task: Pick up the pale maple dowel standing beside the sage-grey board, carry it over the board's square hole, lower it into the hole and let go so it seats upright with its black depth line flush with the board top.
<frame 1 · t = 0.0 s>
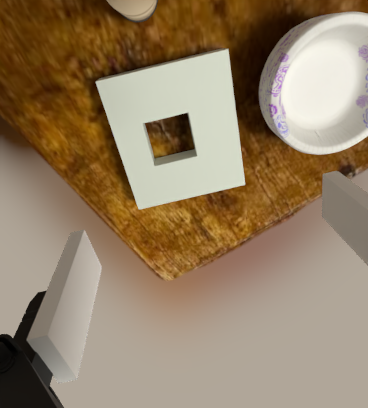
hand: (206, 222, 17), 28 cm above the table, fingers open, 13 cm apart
socket board: (176, 132, 42), on the table
paper bowls: (305, 82, 41), on the table
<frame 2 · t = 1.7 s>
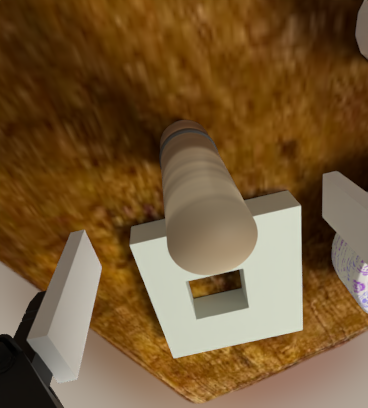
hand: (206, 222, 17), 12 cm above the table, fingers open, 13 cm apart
maple dowel: (184, 145, 27), on the table
socket board: (222, 273, 35), on the table
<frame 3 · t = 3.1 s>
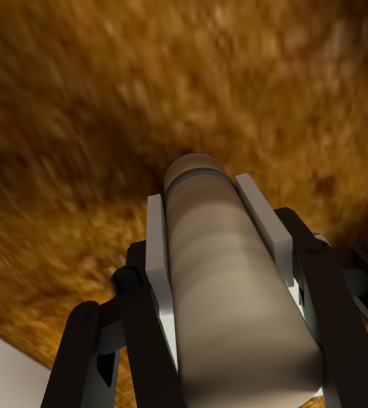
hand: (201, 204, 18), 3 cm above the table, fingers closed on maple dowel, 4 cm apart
maple dowel: (195, 182, 21), on the table, touching gripper
socket board: (237, 327, 29), on the table
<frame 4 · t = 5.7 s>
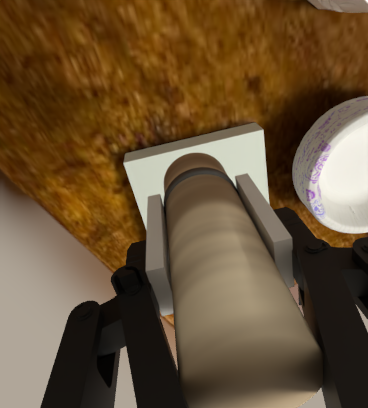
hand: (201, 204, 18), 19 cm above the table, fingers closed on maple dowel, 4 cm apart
maple dowel: (195, 182, 21), point 16 cm above the table, touching gripper
socket board: (203, 201, 41), on the table
paper bowls: (338, 151, 39), on the table
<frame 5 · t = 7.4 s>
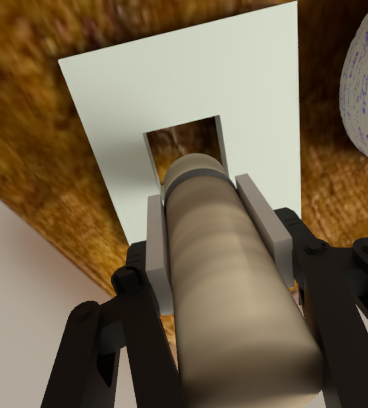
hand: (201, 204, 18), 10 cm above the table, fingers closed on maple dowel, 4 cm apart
maple dowel: (195, 183, 21), point 7 cm above the table, touching gripper
socket board: (196, 145, 27), on the table
when the fingers open (5 cm above the table, at t = 8.5 s): maple dowel drops 2 cm, resting in socket board.
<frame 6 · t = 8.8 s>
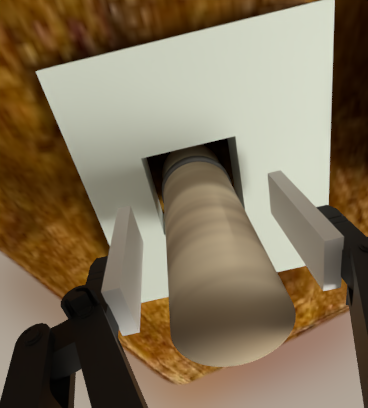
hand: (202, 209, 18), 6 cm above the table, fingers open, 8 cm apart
maple dowel: (191, 171, 23), resting in socket board
socket board: (204, 168, 23), on the table
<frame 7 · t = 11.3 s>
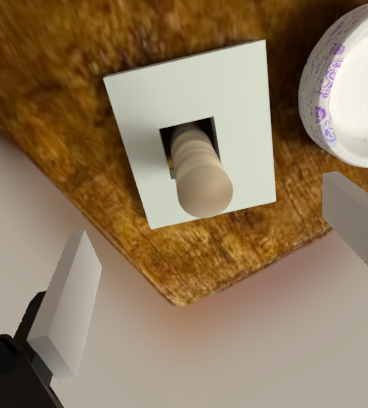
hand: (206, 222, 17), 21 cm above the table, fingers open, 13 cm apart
maple dowel: (188, 141, 36), resting in socket board
socket board: (196, 139, 36), on the table
paper bowls: (350, 81, 35), on the table
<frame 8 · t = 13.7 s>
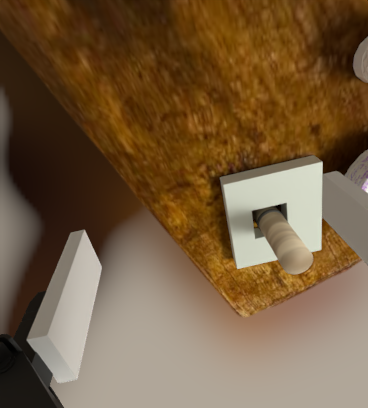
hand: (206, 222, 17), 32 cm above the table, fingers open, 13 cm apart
maple dowel: (264, 212, 55), resting in socket board
socket board: (270, 211, 55), on the table
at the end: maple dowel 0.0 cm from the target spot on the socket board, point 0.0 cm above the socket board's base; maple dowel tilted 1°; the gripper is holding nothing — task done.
